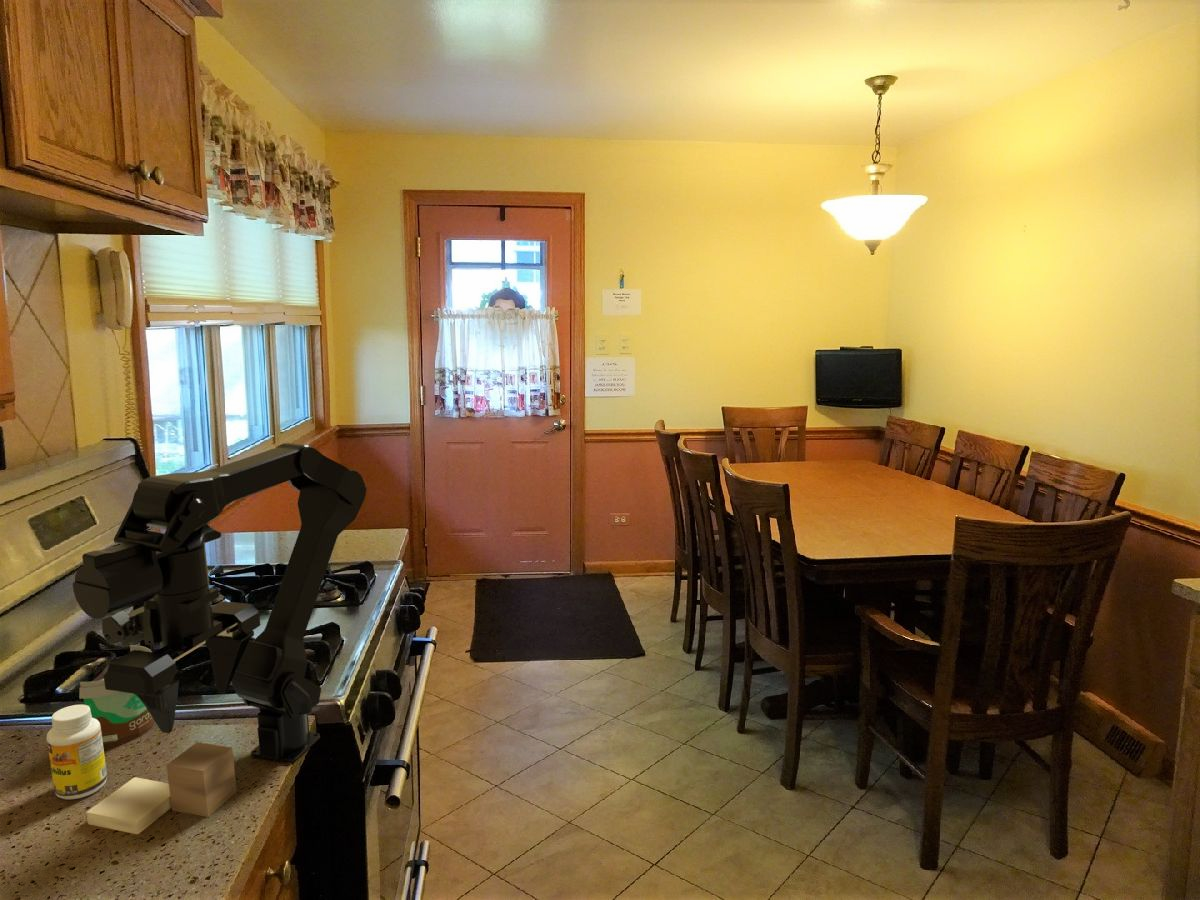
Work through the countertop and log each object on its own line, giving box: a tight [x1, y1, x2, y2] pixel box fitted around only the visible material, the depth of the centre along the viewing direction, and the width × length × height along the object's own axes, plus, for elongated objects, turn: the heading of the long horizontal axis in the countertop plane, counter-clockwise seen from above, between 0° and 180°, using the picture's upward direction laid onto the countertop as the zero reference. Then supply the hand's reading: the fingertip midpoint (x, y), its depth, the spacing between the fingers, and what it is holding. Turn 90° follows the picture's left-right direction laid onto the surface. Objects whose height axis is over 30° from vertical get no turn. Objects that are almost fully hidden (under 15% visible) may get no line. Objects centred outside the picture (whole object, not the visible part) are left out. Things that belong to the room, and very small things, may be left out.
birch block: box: [85, 776, 172, 835], centre depth 97 cm, size 7×7×2 cm
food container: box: [78, 644, 156, 748], centre depth 114 cm, size 12×6×10 cm, turn 179°
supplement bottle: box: [46, 704, 108, 800], centre depth 100 cm, size 6×6×10 cm
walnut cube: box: [166, 741, 238, 818], centre depth 98 cm, size 5×5×6 cm
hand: (195, 711), depth 97 cm, fingers open, 9 cm apart
